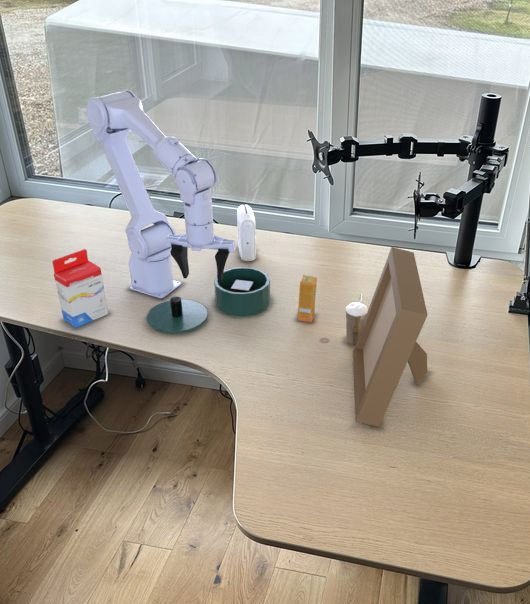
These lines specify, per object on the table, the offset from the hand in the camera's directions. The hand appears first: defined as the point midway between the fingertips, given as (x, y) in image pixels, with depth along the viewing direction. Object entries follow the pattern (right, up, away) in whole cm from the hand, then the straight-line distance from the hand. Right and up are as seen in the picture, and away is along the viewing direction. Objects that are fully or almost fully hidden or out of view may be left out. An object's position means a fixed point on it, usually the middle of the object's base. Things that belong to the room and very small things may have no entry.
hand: (203, 277), depth 143 cm
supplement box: (+23, -9, +4) cm, 25 cm away
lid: (-6, -8, +2) cm, 10 cm away
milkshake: (+33, -14, -3) cm, 36 cm away
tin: (+8, -5, +9) cm, 13 cm away
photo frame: (+39, -24, -16) cm, 49 cm away
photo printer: (+7, +10, +29) cm, 31 cm away
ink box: (-26, -9, +2) cm, 28 cm away
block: (+8, -4, +8) cm, 12 cm away
